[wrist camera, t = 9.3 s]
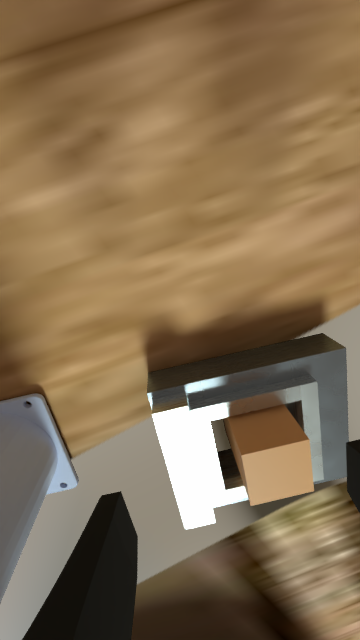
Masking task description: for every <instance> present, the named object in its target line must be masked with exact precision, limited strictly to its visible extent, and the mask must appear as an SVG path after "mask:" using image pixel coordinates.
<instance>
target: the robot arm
mask: <svg viewBox="0 0 360 640" xmlns="http://www.w3.org/2000/svg"><path fill="white" fill-rule="evenodd" d="M26 401H28V402H30V403H31V405H29V404H27V403H26ZM346 462H347V491H348V493H349V495H350V497H351V498H352V500H353V502H354V504H355V505H356V507H357V509H358V511H359V512H360V440H355V441H351V442H346ZM78 481H79V480H78V476H77V474H76V471H75V469H74V467H73V464H72V462H71V460H70V457H69V455H68V453H67V450H66V448H65V446H64V443H63V441H62V438H61V436H60V434H59V431H58V429H57V427H56V424H55V422H54V420H53V417H52V415H51V413H50V410H49V408H48V405H47V403H46V401H45V398H44V397H43V396H42V395H41V394H38V393H36V394H30V395H26V396H21V397H17V398H13V399H8V400H4V401H0V603H1V600H2V598H3V595H4V593H5V591H6V589H7V586H8V584H9V581H10V579H11V576H12V574H13V572H14V569H15V567H16V565H17V562H18V560H19V558H20V555H21V552H22V550H23V548H24V546H25V543H26V541H27V538H28V536H29V533H30V531H31V529H32V526H33V524H34V522H35V519H36V517H37V515H38V512H39V510H40V507H41V505H42V503H43V500H44V498H45V496H46V494H51V493H55V492H59V491H64V490H68V489H72V488H75V487H76V486H77V484H78ZM64 483H66V484H64ZM137 540H138V539H137V534H136V531H135V528H134V526H133V523H132V520H131V518H130V515H129V512H128V509H127V507H126V504H125V501H124V499H123V496H122V493H121V491H120V492H116V493H111V494H107V495H102V496H101V498H100V499H99V501H98V503H97V505H96V507H95V509H94V511H93V513H92V515H91V517H90V519H89V521H88V523H87V525H86V527H85V529H84V531H83V533H82V535H81V537H80V539H79V540H78V543H77V544H76V546H75V548H74V550H73V552H72V554H71V556H70V558H69V559H68V561H67V563H66V565H65V567H64V569H63V571H62V572H61V574H60V576H59V578H58V580H57V581H56V583H55V585H54V587H53V588H52V590H51V592H50V594H49V596H48V597H47V599H46V600H45V602H44V604H43V606H42V608H41V609H40V611H39V612H38V614H37V616H36V618H35V619H34V621H33V623H32V624H31V626H30V628H29V629H28V631H27V633H26V634H25V636H24V638H23V639H22V640H131V635H132V625H133V615H134V605H135V595H136V584H137Z"/></svg>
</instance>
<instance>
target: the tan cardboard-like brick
mask: <svg viewBox="0 0 360 640" xmlns="http://www.w3.org/2000/svg"><path fill="white" fill-rule="evenodd" d="M223 421H224V426H225V430H226V433H227V437H228V440H229V443H230V446H231V449H232V452H233V455H234V457H235V460H236V463H237V466H238V469H239V472H240V475H241V478H242V481H243V484H244V487H245V490H246V493H247V496H248V499H249V502H250V505H251V506H253V505H257V504H261V503H265V502H270V501H273V500H278V499H282V498H286V497H291V496H295V495H299V494H303V493H307V492H312V491H314V484H313V473H312V462H311V450H310V439H309V438H308V437H307V435H306V434H305V432H304V431H303V430H302V428H301V427H300V426H299V424H298V423H297V421H296V420H295V419H294V417H293V416H292V415H291V413H290V412H289V410H288V409H287V408H286V406H285V405H284V404H282V405H278V406H273V407H269V408H265V409H260V410H256V411H252V412H247V413H243V414H239V415H234V416H230V417H225V418H223Z"/></svg>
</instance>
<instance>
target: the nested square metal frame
mask: <svg viewBox="0 0 360 640" xmlns="http://www.w3.org/2000/svg"><path fill="white" fill-rule="evenodd" d="M147 395H148V399H149V402H150V406H151V409H152V416H153V420H154V423H155V427H156V430H157V434H158V437H159V440H160V444H161V447H162V451H163V454H164V458H165V461H166V465H167V468H168V471H169V475H170V478H171V482H172V485H173V488H174V492H175V496H176V499H177V502H178V506H179V509H180V513H181V516H182V520H183V523H184V527H185V530H186V529H190V528H194V527H198V526H203V525H207V524H211V523H215V517H214V512H213V508H214V507H218V506H223V505H227V504H231V503H236V502H240V501H245V500H249V499H248V496H247V493H246V490H245V487H244V484H243V481H242V478H241V475H240V472H239V469H238V466H237V463H236V460H235V457H234V455H233V452H232V449H228V450H224V451H219V452H217V451H216V446H215V441H214V436H213V432H212V428H211V422H210V421H212V420H216V419H221V418H225V417H230V416H234V415H239V414H243V413H247V412H252V411H256V410H260V409H265V408H269V407H273V406H278V405H282V404H284V405H285V406H286V408H287V409H288V410H289V412H290V413H291V415H292V416H293V417H294V419H295V420H296V421H297V423H298V424H299V426H300V427H301V428H302V430H303V431H304V432H305V434H306V435H307V437H308V438H309V439H310V450H311V462H312V473H313V484H318V483H322V482H327V481H331V480H335V479H340V478H344V477H347V462H346V442H349V440H348V438H349V437H348V401H347V366H346V348H345V347H344V346H342V345H341V344H339V343H337V342H336V341H334V340H333V339H331V338H329V337H328V336H326V335H325V334H323V333H321V334H316V335H312V336H308V337H303V338H299V339H294V340H290V341H286V342H281V343H277V344H273V345H268V346H264V347H259V348H255V349H251V350H246V351H242V352H237V353H233V354H229V355H224V356H220V357H216V358H211V359H207V360H202V361H198V362H194V363H189V364H185V365H180V366H176V367H172V368H167V369H163V370H158V371H154V372H150V373H148V385H147Z"/></svg>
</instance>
